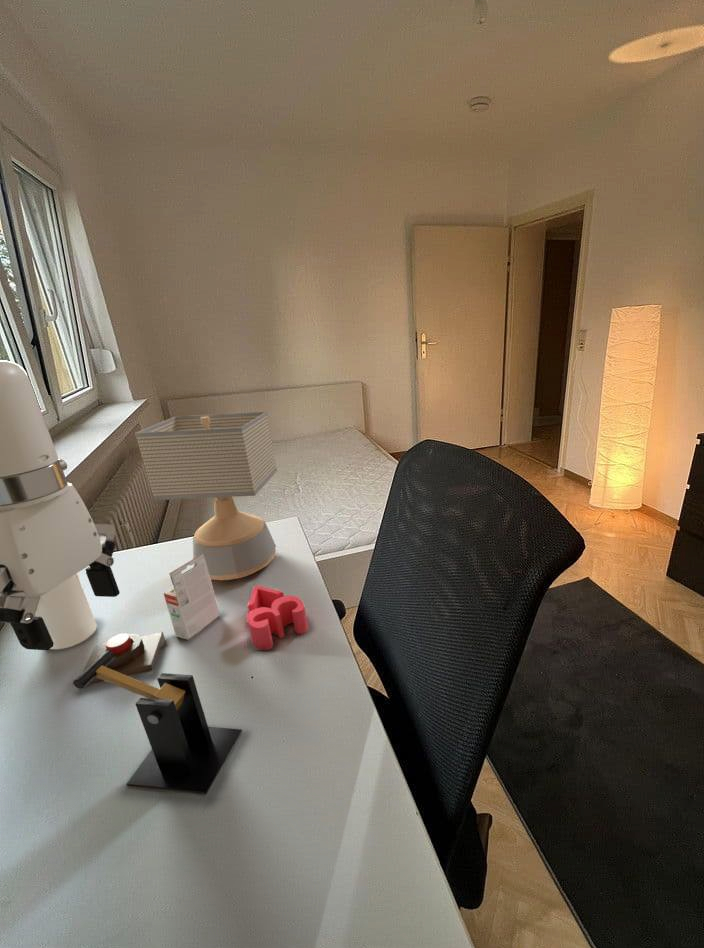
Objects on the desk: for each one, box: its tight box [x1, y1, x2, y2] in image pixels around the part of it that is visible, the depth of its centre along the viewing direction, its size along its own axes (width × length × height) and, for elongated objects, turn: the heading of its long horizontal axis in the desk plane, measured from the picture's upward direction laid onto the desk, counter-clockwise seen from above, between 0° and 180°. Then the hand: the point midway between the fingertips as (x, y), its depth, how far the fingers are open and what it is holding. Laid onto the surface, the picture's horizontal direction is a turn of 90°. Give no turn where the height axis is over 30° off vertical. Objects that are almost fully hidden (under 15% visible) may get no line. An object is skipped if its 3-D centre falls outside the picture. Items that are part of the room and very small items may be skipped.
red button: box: [105, 632, 132, 655], centre depth 76 cm, size 4×4×2 cm
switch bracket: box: [126, 672, 243, 795], centre depth 57 cm, size 11×9×13 cm
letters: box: [246, 584, 309, 651], centre depth 86 cm, size 14×10×5 cm
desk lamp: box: [134, 411, 278, 581], centre depth 101 cm, size 22×19×37 cm
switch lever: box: [72, 651, 185, 710], centre depth 55 cm, size 12×5×2 cm, turn 82°
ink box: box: [163, 554, 221, 641], centre depth 84 cm, size 4×8×15 cm, turn 156°
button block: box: [81, 631, 166, 686], centre depth 77 cm, size 11×9×4 cm
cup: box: [23, 573, 98, 650], centre depth 84 cm, size 8×8×16 cm
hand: (76, 619), depth 52 cm, fingers open, 9 cm apart
